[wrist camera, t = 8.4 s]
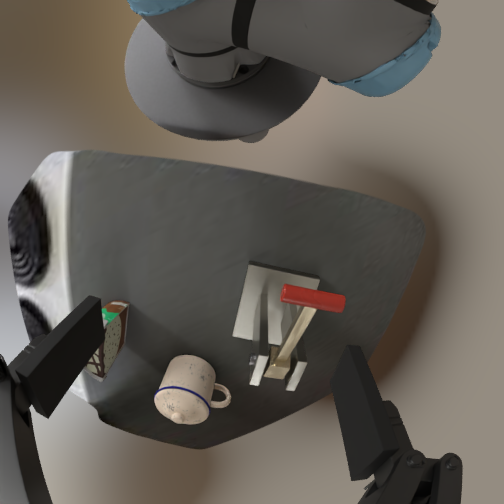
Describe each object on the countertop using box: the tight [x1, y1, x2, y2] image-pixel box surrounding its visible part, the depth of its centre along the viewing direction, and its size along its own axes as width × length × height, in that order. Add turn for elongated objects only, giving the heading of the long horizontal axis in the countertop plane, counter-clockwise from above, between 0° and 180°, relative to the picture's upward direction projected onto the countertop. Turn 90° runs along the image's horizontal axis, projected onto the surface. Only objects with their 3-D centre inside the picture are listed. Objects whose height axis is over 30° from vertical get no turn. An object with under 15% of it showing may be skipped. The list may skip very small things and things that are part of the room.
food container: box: [83, 300, 130, 382], centre depth 38 cm, size 12×6×10 cm, turn 160°
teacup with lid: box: [154, 355, 231, 424], centre depth 40 cm, size 12×9×12 cm
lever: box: [264, 284, 345, 379], centre depth 25 cm, size 13×5×2 cm, turn 167°
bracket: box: [232, 261, 320, 391], centre depth 33 cm, size 12×10×15 cm
